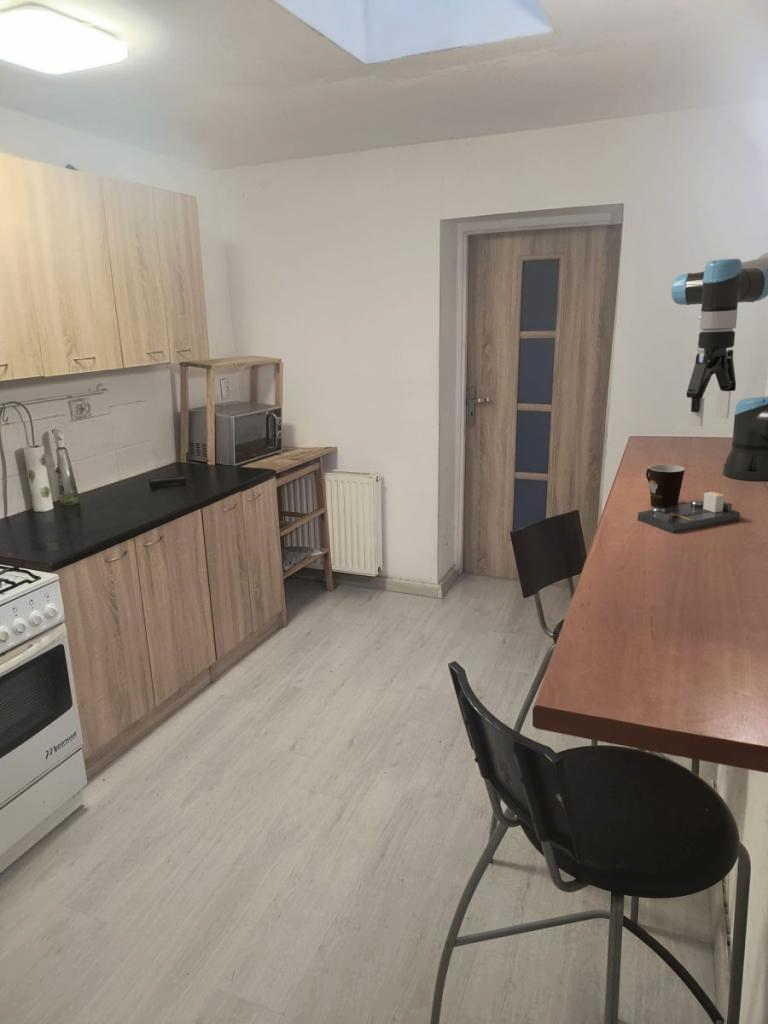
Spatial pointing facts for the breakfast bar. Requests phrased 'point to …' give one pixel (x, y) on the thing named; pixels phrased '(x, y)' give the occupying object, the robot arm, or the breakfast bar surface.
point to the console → (687, 516)
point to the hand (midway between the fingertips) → (709, 421)
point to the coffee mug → (665, 484)
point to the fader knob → (713, 501)
